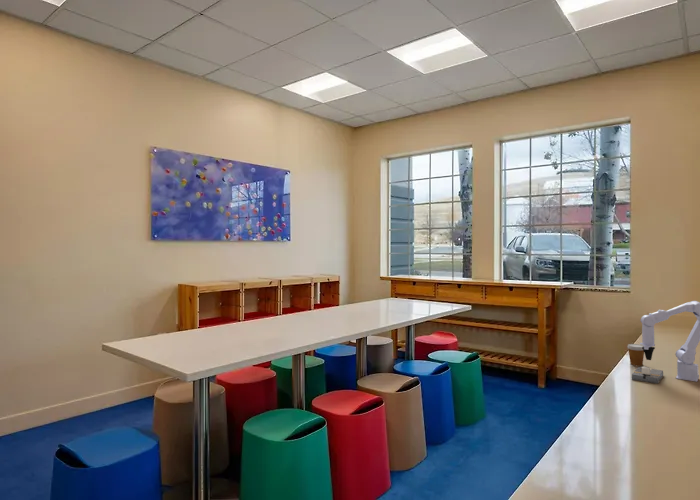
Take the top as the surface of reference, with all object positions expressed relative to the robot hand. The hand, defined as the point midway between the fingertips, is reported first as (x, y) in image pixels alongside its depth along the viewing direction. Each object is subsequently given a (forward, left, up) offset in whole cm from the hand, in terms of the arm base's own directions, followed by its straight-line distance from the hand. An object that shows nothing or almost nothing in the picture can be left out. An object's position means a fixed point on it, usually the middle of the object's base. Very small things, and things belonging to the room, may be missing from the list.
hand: (648, 359), depth 247 cm
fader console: (0, +4, -9) cm, 10 cm away
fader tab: (0, +9, -8) cm, 11 cm away
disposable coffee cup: (+10, -23, -10) cm, 27 cm away
